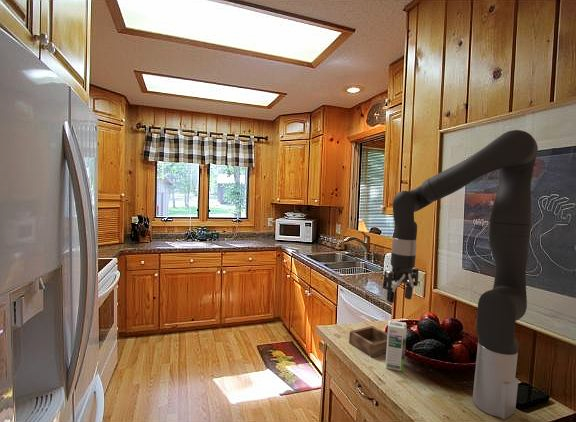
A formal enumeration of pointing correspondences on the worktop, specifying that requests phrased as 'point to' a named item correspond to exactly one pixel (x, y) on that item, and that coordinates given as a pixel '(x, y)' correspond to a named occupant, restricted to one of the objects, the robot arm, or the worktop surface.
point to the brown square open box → (369, 341)
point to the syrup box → (396, 345)
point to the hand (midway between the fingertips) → (399, 300)
